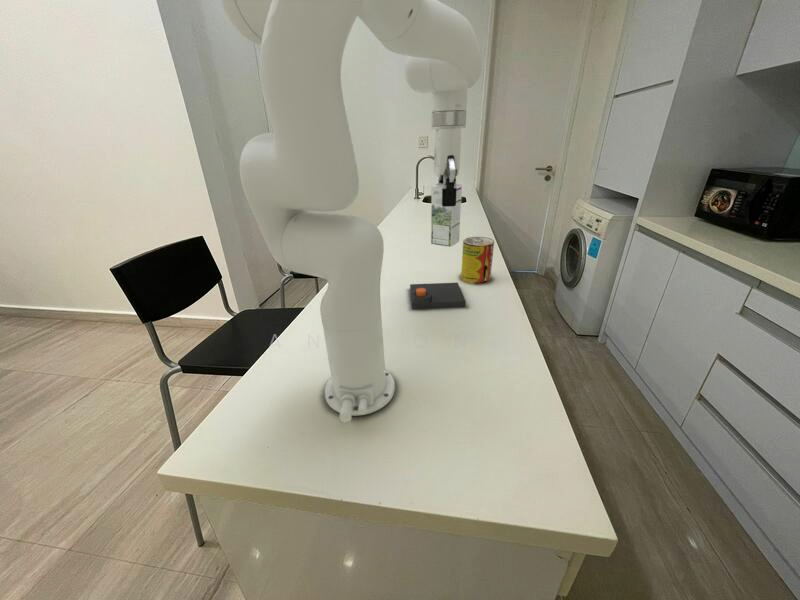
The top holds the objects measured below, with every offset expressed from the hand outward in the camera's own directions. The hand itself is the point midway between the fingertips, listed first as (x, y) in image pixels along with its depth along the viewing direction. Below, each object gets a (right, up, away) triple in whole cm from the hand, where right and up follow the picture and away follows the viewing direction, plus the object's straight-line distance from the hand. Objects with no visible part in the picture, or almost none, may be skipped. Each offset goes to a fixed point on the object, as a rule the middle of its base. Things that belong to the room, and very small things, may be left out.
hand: (446, 202), depth 81 cm
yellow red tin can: (+13, -17, +23) cm, 31 cm away
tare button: (-6, -23, +6) cm, 24 cm away
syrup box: (0, -9, +5) cm, 11 cm away
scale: (-1, -24, +11) cm, 26 cm away
